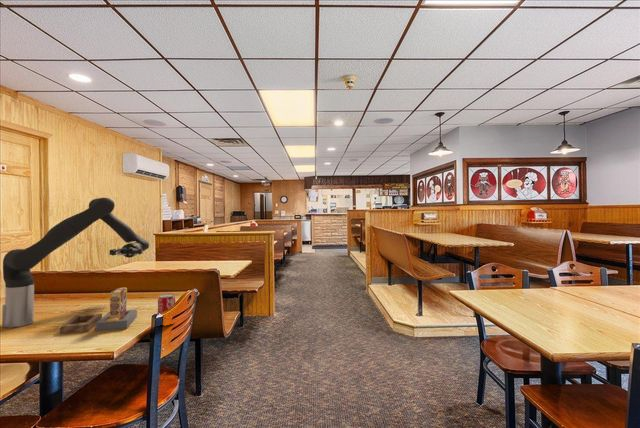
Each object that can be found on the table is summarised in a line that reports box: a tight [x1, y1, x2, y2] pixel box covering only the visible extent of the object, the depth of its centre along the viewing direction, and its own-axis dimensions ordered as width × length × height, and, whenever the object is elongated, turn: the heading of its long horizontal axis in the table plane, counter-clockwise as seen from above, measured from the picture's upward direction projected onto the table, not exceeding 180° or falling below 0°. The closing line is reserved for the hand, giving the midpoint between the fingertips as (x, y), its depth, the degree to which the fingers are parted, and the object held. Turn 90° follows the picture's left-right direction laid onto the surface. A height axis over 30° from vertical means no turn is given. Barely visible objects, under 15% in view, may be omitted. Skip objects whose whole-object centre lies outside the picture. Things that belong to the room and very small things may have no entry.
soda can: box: [157, 293, 176, 314], centre depth 139 cm, size 7×7×13 cm
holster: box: [59, 313, 103, 335], centre depth 135 cm, size 10×15×3 cm, turn 18°
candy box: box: [109, 287, 128, 319], centre depth 140 cm, size 9×4×15 cm, turn 15°
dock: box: [95, 308, 138, 332], centre depth 139 cm, size 12×16×4 cm
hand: (122, 253), depth 155 cm, fingers open, 8 cm apart
